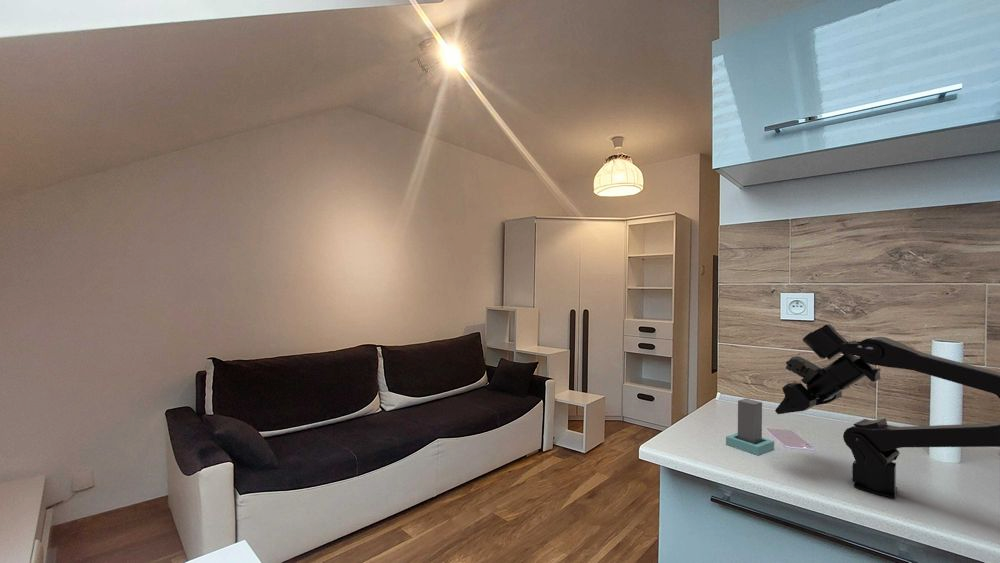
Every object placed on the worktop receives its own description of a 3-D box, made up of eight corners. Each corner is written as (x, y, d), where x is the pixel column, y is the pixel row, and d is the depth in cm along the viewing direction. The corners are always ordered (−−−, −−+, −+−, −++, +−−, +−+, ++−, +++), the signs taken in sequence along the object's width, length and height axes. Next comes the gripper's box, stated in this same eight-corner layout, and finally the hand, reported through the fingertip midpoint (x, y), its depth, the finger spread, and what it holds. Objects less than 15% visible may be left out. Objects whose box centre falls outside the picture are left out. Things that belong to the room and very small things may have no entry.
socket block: (774, 449, 111) (774, 441, 111) (757, 455, 106) (757, 447, 106) (742, 438, 118) (742, 431, 118) (725, 444, 113) (725, 436, 113)
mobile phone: (792, 429, 124) (817, 448, 110) (792, 432, 124) (817, 452, 110) (764, 427, 126) (785, 445, 112) (764, 430, 126) (785, 449, 112)
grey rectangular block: (761, 448, 111) (762, 402, 111) (753, 451, 109) (754, 404, 109) (745, 442, 115) (746, 398, 115) (737, 445, 113) (738, 400, 113)
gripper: (827, 345, 105) (779, 378, 114) (792, 350, 95) (743, 386, 105) (866, 382, 98) (812, 414, 107) (833, 391, 88) (776, 427, 98)
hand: (785, 409), depth 104 cm, fingers open, 9 cm apart
